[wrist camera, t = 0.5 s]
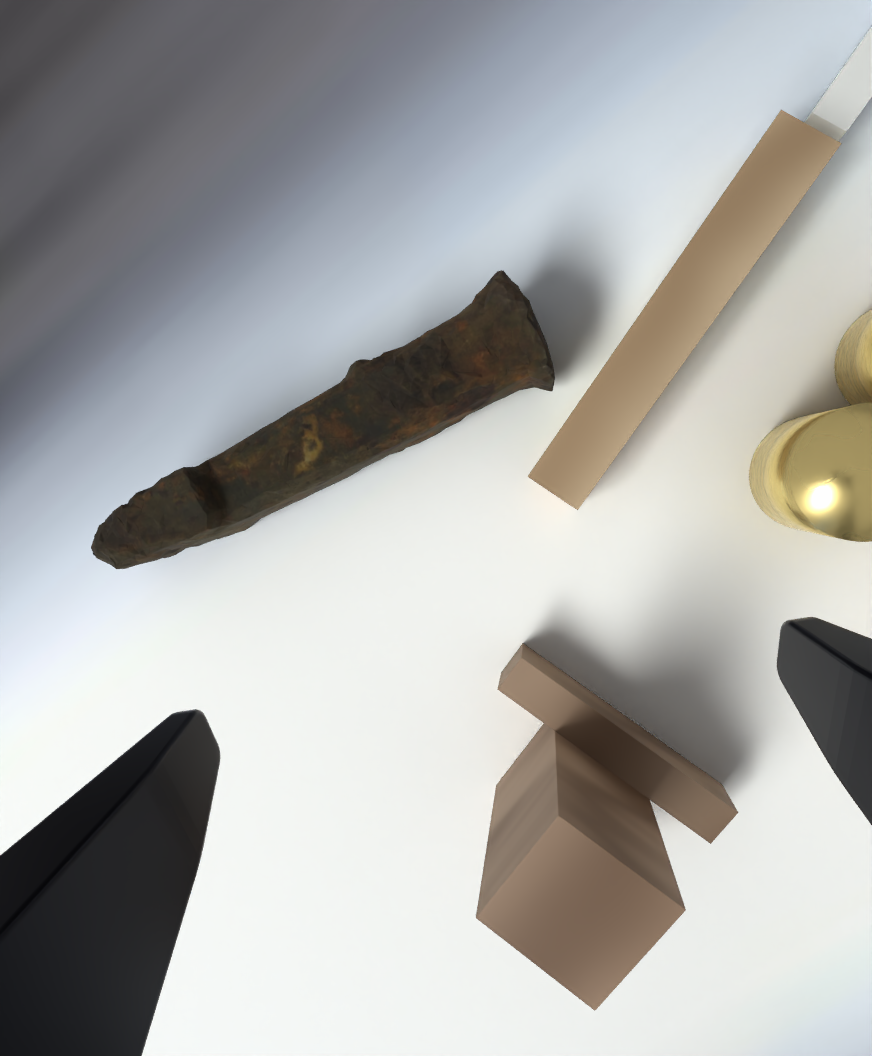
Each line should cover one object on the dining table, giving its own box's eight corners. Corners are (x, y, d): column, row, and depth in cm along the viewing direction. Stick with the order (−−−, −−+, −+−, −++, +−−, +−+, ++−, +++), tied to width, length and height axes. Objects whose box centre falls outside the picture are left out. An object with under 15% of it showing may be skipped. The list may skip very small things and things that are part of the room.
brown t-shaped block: (722, 784, 21) (807, 932, 14) (632, 887, 22) (672, 1071, 15) (522, 643, 22) (513, 717, 15) (445, 747, 23) (404, 862, 16)
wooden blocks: (1203, 415, 17) (1311, 405, 15) (909, 731, 20) (961, 767, 17) (750, 156, 19) (781, 109, 17) (529, 476, 21) (527, 476, 19)
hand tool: (518, 292, 21) (511, 240, 17) (561, 389, 21) (564, 365, 17) (126, 493, 25) (33, 496, 21) (161, 575, 25) (77, 596, 21)
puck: (902, 457, 19) (981, 453, 16) (823, 552, 20) (881, 568, 16) (798, 392, 19) (852, 375, 16) (724, 488, 20) (761, 491, 17)
